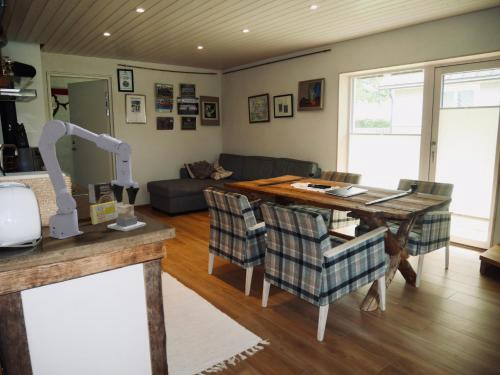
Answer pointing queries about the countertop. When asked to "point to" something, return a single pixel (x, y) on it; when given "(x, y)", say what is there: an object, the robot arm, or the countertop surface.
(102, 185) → the coffee box
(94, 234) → the countertop surface
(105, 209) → the candy box
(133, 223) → the white grey square pedestal
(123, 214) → the birch block
